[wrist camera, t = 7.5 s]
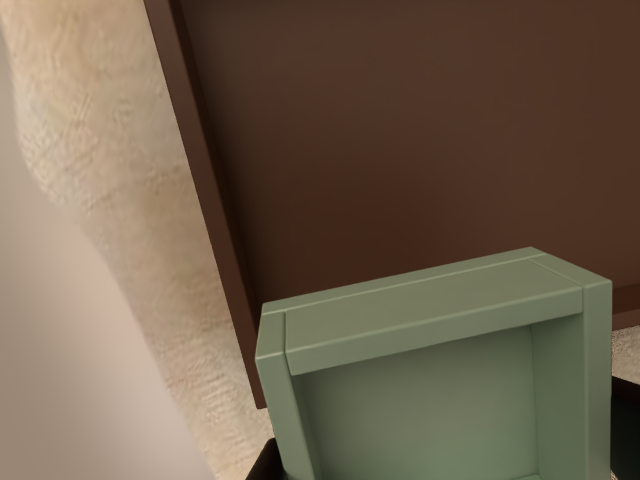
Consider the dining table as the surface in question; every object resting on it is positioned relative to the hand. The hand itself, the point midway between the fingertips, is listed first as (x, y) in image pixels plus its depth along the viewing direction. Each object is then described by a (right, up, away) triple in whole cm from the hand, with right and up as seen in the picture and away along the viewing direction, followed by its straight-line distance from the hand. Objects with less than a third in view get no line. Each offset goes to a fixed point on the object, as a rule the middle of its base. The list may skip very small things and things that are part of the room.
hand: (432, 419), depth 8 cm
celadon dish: (0, 0, +1) cm, 1 cm away
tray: (+7, +8, +9) cm, 14 cm away
